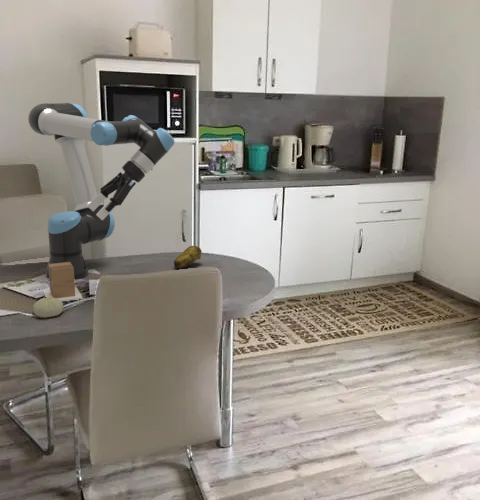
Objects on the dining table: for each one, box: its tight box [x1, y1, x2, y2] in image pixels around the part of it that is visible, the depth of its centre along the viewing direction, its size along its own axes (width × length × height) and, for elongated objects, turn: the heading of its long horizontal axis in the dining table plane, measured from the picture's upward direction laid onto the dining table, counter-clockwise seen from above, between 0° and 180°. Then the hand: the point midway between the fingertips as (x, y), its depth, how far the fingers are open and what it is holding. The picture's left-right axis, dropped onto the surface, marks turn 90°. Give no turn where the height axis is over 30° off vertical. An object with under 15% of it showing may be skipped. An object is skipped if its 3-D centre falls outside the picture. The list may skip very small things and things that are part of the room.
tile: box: [43, 286, 84, 302], centre depth 191 cm, size 11×11×1 cm
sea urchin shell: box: [32, 297, 64, 318], centre depth 177 cm, size 9×8×8 cm
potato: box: [173, 245, 202, 269], centre depth 227 cm, size 8×13×8 cm, turn 119°
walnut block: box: [48, 262, 76, 298], centre depth 190 cm, size 7×7×10 cm
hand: (94, 213), depth 189 cm, fingers open, 13 cm apart
